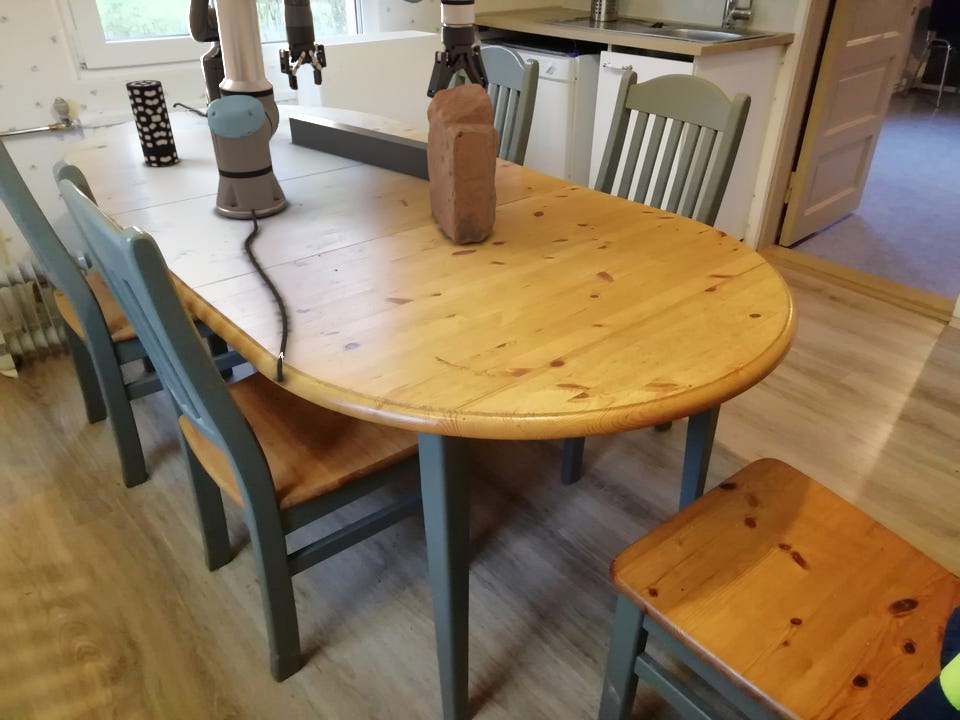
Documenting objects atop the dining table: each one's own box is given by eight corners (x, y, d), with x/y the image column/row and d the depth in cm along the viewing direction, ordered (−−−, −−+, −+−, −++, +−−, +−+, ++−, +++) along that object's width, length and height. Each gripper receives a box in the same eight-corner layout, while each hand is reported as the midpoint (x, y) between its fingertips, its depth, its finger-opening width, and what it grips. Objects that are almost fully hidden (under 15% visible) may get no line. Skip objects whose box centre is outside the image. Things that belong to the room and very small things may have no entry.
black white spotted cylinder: (184, 157, 190) (167, 80, 179) (169, 166, 183) (151, 87, 172) (155, 156, 190) (136, 79, 179) (139, 165, 183) (119, 86, 172)
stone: (507, 241, 142) (509, 97, 128) (455, 247, 139) (451, 101, 125) (475, 209, 160) (474, 80, 146) (428, 214, 157) (422, 83, 143)
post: (487, 186, 172) (488, 156, 168) (475, 192, 169) (476, 161, 165) (305, 139, 207) (302, 113, 203) (292, 143, 203) (288, 117, 199)
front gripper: (478, 18, 165) (478, 110, 176) (408, 29, 148) (412, 130, 159) (503, 20, 161) (501, 114, 172) (434, 32, 144) (437, 135, 156)
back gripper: (310, 19, 191) (316, 81, 200) (268, 24, 181) (277, 89, 190) (328, 22, 187) (334, 85, 196) (287, 27, 178) (295, 93, 186)
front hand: (459, 122), depth 166 cm, fingers open, 13 cm apart
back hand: (306, 87), depth 193 cm, fingers open, 8 cm apart
